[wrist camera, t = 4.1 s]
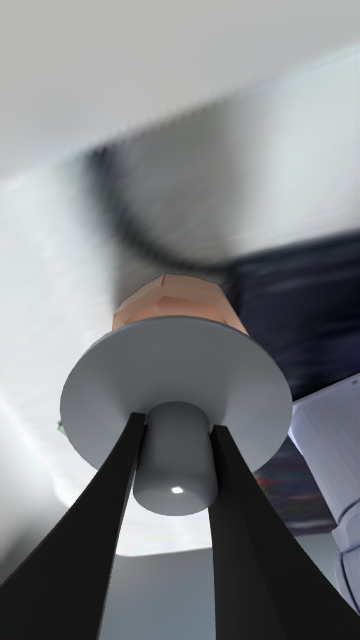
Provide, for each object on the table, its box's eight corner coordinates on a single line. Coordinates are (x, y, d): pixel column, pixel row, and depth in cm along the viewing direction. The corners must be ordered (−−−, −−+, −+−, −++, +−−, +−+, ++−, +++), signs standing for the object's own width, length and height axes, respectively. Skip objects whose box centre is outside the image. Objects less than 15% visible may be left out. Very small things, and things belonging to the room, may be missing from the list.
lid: (216, 262, 9) (239, 296, 5) (317, 433, 13) (368, 515, 9) (19, 390, 11) (-50, 466, 8) (154, 498, 15) (146, 581, 12)
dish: (197, 249, 17) (200, 257, 14) (255, 344, 21) (268, 367, 18) (97, 316, 20) (82, 335, 17) (165, 392, 23) (162, 419, 20)
